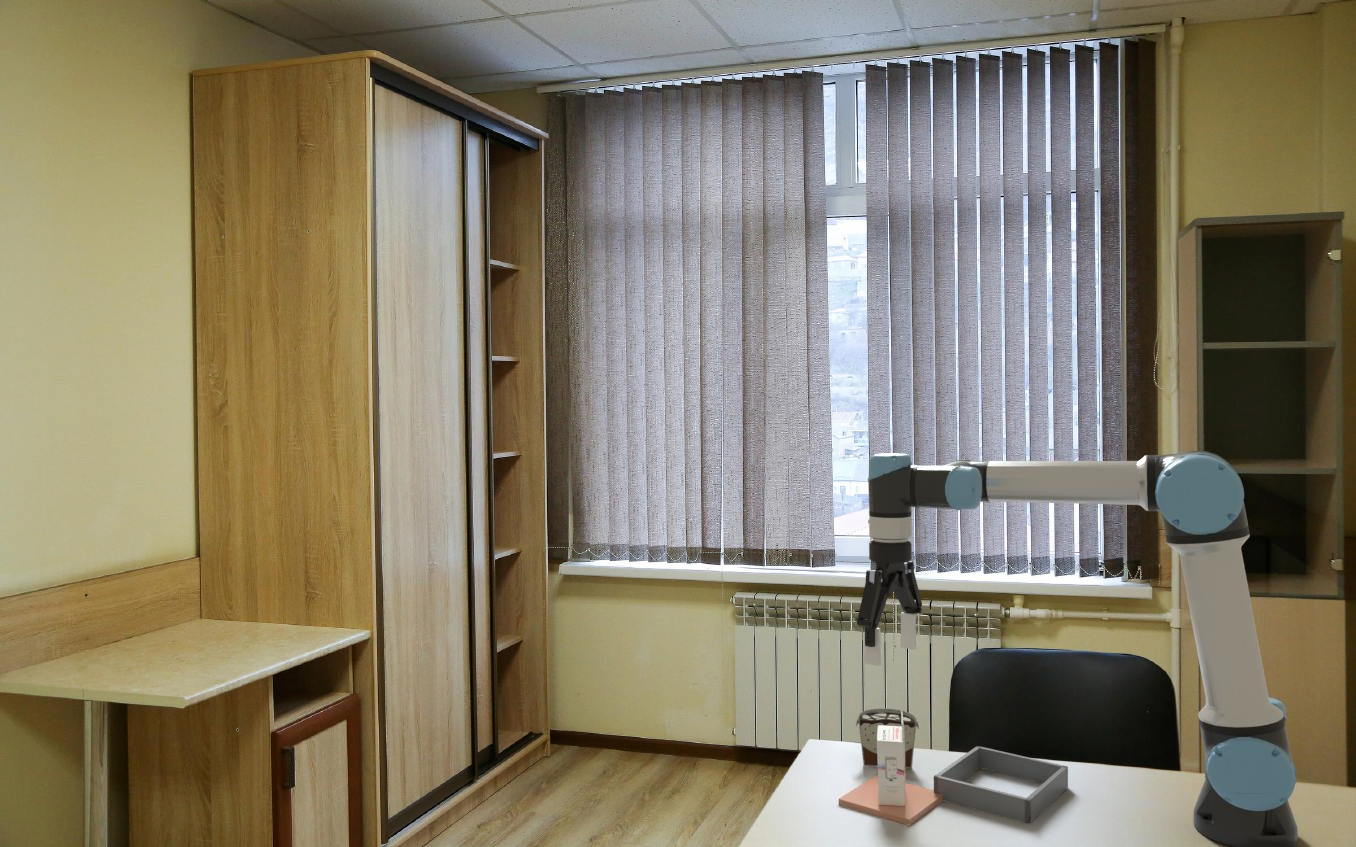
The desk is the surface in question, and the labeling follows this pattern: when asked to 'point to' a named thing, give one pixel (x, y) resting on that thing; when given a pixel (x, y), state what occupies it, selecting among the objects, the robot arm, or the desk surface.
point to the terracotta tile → (868, 801)
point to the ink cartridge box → (891, 764)
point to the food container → (887, 718)
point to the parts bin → (998, 801)
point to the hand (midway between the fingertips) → (891, 655)
